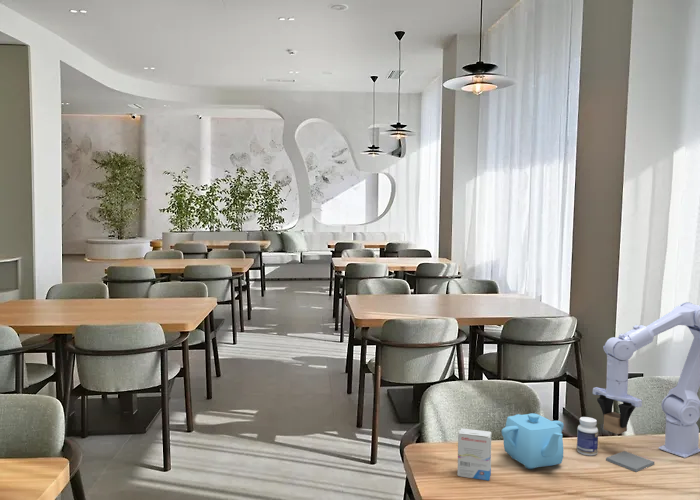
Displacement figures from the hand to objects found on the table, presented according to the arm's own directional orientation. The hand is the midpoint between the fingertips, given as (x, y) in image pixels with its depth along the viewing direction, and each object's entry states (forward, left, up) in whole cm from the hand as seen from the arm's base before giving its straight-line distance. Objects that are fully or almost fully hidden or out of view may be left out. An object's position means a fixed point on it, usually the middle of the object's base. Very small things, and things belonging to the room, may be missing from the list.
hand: (615, 424), depth 174 cm
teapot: (+26, -7, -9) cm, 28 cm away
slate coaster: (+3, +7, -8) cm, 11 cm away
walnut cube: (0, 0, -2) cm, 2 cm away
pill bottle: (+7, -4, -9) cm, 12 cm away
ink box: (+46, -11, -9) cm, 48 cm away
